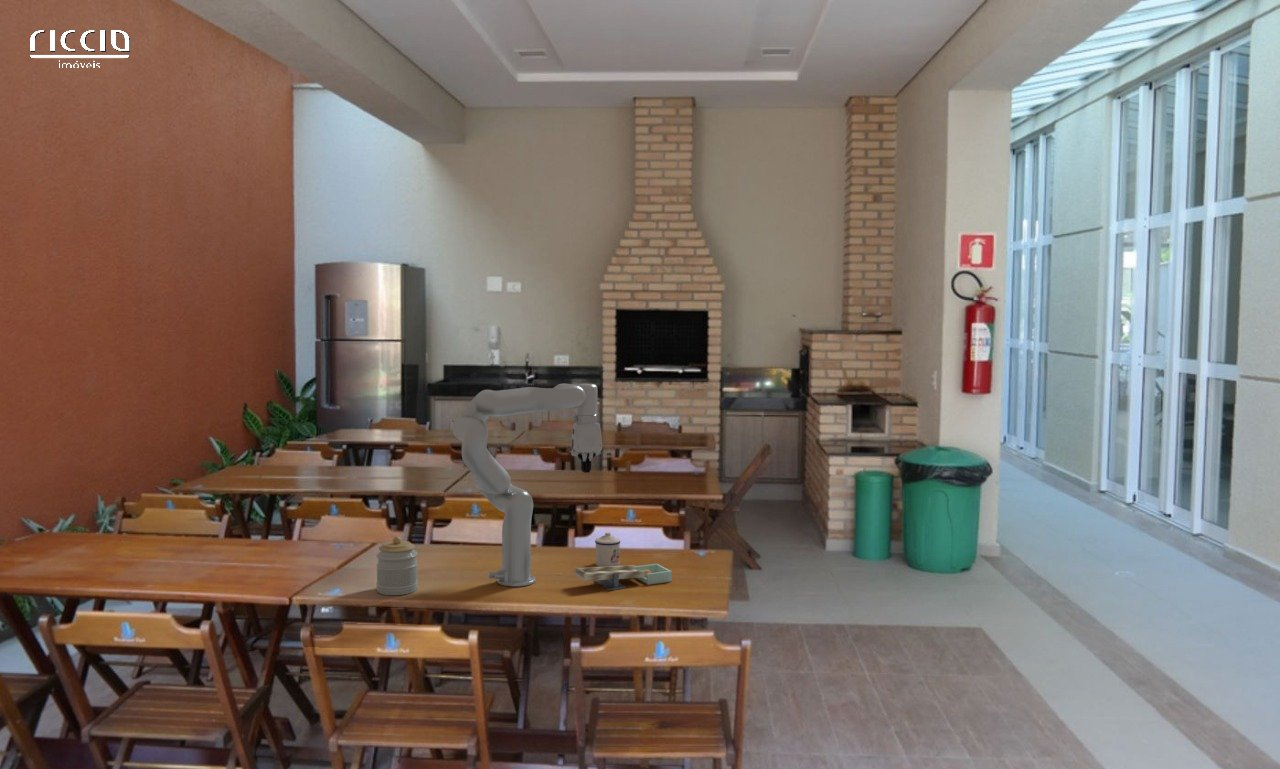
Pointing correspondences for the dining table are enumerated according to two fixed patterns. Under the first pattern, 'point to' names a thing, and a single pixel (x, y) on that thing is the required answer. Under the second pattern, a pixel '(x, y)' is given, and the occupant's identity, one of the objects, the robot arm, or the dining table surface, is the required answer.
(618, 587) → the fulcrum
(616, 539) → the teacup with lid
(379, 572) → the jar
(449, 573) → the dining table surface
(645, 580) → the tray
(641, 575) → the lever
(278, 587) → the dining table surface
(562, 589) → the dining table surface
